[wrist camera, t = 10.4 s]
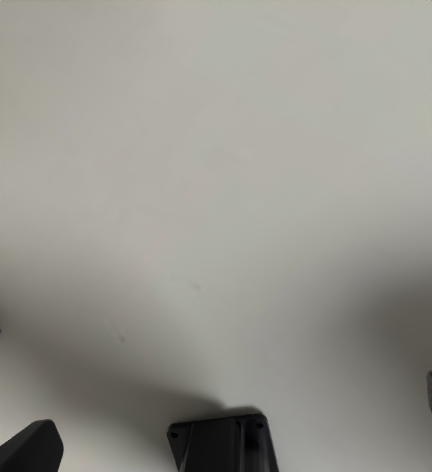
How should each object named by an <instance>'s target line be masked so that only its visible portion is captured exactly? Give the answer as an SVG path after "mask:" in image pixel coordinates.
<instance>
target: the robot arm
mask: <svg viewBox="0 0 432 472" xmlns="http://www.w3.org/2000/svg"><path fill="white" fill-rule="evenodd" d="M427 387H428V398H429V405H430V409H431V412H432V370H431V371H429V372H428V373H427ZM257 422H261V424H258V423H257ZM174 432H176V433H174ZM167 437H168V440H169V443H170V446H171V449H172V452H173V455H174V458H175V461H176V465H177V468H178V471H179V472H279V468H278V463H277V459H276V455H275V450H274V446H273V442H272V438H271V433H270V429H269V425H268V420H267V418H266V417H265V416H264V415H262V414H253V415H245V416H236V417H228V418H220V419H211V420H203V421H194V422H186V423H178V424H172V425H170V426H169V428H168V431H167ZM63 451H64V447H63V442H62V440H61V438H60V435H59V433H58V430H57V428H56V426H55V423H54V422H53V421H52V420H50V419H45V420H38V421H35V422H33V423H31V424H30V425H29V426H27V427H26V428H25V429H23V430H22V431H20V432H19V433H18V434H16V435H15V436H14V437H12V438H11V439H9V440H8V441H7V442H5V443H4V444H3V445H1V446H0V472H58V469H59V466H60V463H61V459H62V456H63Z"/></svg>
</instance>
